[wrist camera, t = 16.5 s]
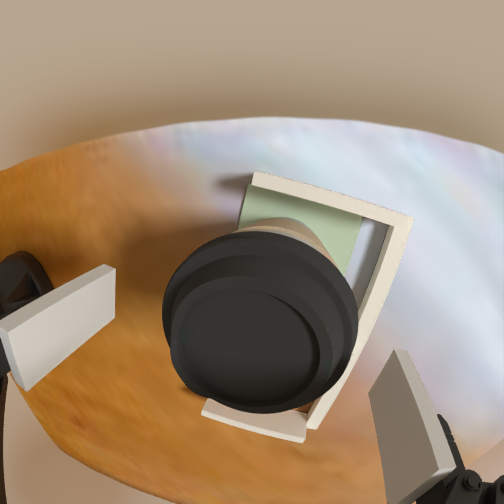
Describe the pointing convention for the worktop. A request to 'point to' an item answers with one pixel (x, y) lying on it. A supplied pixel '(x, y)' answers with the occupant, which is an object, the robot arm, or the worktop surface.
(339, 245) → the pad
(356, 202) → the e-shaped divided frame
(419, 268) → the worktop surface
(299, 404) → the coffee cup
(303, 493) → the worktop surface
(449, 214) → the worktop surface
